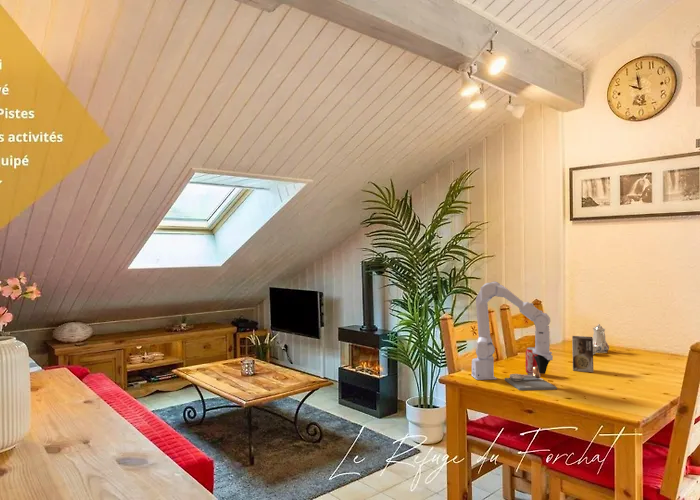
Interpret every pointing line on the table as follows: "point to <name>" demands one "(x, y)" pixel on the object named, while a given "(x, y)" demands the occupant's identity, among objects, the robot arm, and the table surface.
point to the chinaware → (599, 340)
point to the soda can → (530, 360)
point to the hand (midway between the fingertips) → (542, 373)
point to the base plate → (531, 384)
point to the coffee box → (582, 353)
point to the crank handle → (520, 377)
